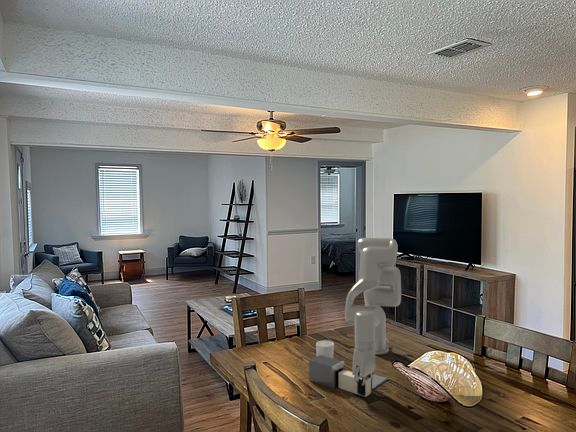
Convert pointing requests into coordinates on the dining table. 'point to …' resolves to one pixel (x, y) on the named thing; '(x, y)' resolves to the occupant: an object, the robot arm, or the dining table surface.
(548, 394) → the dining table surface
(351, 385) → the beige block
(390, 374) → the dining table surface
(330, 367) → the dispenser
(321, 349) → the white cup
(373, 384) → the mat
